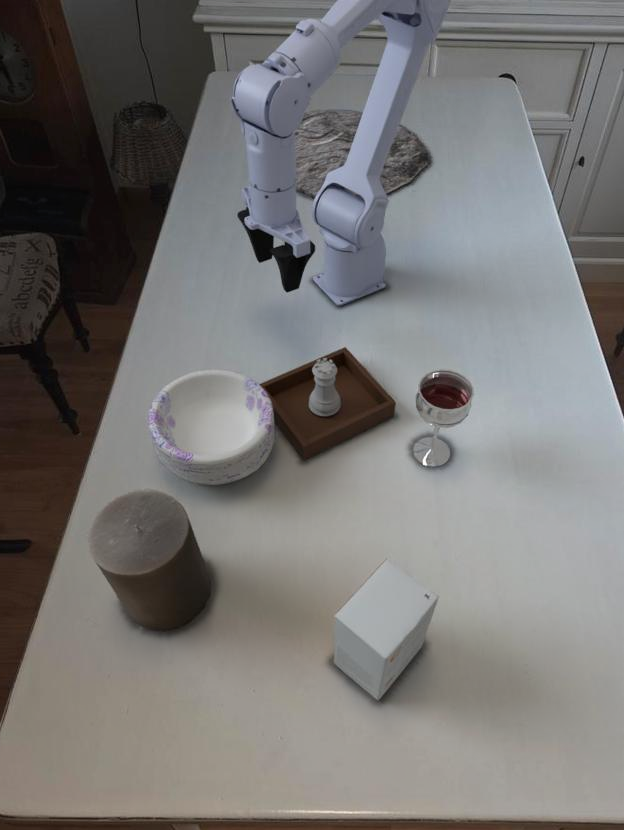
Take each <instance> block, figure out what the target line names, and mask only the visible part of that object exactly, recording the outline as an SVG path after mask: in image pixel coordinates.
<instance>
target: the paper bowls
mask: <svg viewBox="0 0 624 830" xmlns="http://www.w3.org/2000/svg"><path fill="white" fill-rule="evenodd" d="M259 384H260V383H258V382H257V381H255V380H254V379H253V378H251V377H249V376H247V375H244V374H242V373H240V372H236V371H232V370H228V369H217V368H216V369H204V370H198V371H197V370H196V371H193V372H190V373H187V374H184V375H182V376H180V377H177V378H175V379H174V380H172V381H171V382H169V383H168V384H167V385H165V386H164V387H163V388H162V389H161V391H159V392H158V393H157V395H156V396H155V397H154V399H153V401H152V403H151V404H150V407H149V411H148V418H147V425H148V432H149V435H150V439H151V441H152V444H153V447H154V449H155V453H156V454H157V456H158V458H159V460H160V462H161V463H162V464H163V466H164V467H165V468H166V469H167V470H168V471H169V472H171V473H172V474H174V475H175V476H176V477H178V478H180V479H181V480H183V481H185V482H190V483H193V484H194V483H195V484H199V485H203V486H204V485H207V486H218V485H219V486H220V485H225V484H231V483H234V482H236V481H239V480H241V479H244V478H246V477H248V476H249V475H251V474H252V473H254V472H256V471H258V469H260V467H262V465H264V463H265V462H266V461H267V459H268V458H269V456H270V453H271V452H272V450H273V447H274V443H275V442H274V441H275V432H276V431H275V429H276V428H275V422H274V413H273V406H272V402H271V400H270V398H269V396H268V394H267V393H266V391H265V390H264V389H263V388H262V387H261V386H260V385H259Z"/></svg>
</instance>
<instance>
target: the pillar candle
mask: <svg viewBox="0 0 624 830" xmlns="http://www.w3.org/2000/svg"><path fill="white" fill-rule="evenodd" d="M85 537H86V539H85V540H86V543H88V545H87V546H88V549H89V553H90V555H91V557H92V559H93V561H94V563H95V564H96V566H97V567H98V569H99V570H100V571H101V573H102V575H103V576H104V577H105V579H106V581H107V583H108V584H109V585H110V587H111V589H112V590H113V592H114V593H115V595H116V597H117V599H118V601H119V602H120V603H121V605H122V606H123V608H124V609H125V611H126V613H127V614H128V615H129V616H130V618H131V620H133V621H134V623H136V624H137V625H139V626H141V627H143V628H145V629H148V630H151V631H156V632H167V631H173V630H176V629H177V630H178V629H180V628H182V627H185V626H186V625H188V624H190V623H191V622H193V621H194V620H195V619H196V618H197V617H198V616H200V615H201V613H202V612H203V610H205V608H206V606H207V603H208V599H209V598H210V596H211V589H212V585H211V584H212V582H211V578H210V574H209V571H208V569H207V565H206V563H205V560H204V557H203V554H202V552H201V548H200V546H199V543H198V540H197V538H196V535H195V531H194V529H193V526H192V524H191V521H190V519H189V515H188V513H187V510H186V509H185V507H184V506H183V505H182V503H181V502H180V501H178V500H177V498H175V497H174V496H171V495H170V494H168V493H166V492H163V491H159V490H154V489H151V488H144V489H135V490H132V491H128V493H125V494H122V495H120V496H116V497H115V498H114V499H113V500H112V501H108V502H107V503H106V505H105V506H104V507H102V509H101V510H100V511H98V512H97V513H96V516H95V517H94V519H93V520H92V522H91V524H90V526H89V530H88V532H86V536H85Z"/></svg>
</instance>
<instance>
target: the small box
mask: <svg viewBox="0 0 624 830" xmlns="http://www.w3.org/2000/svg"><path fill="white" fill-rule="evenodd" d="M439 597H440V595H439V594H437V593H436V592H434V591H432V590H431V589H430V588H428V587H427V586H426V585H424V584H423V583H422V582H421V581H419V580H418V579H416V578H415V577H414V576H412V575H411V574H410V573H408V572H407V571H405V570H404V569H402V568H401V567H400V566H399V565H397V564H396V563H394V562H393V561H392V560H390V559H389V558H385V559H384V561H383V562H381V563H380V565H379V566H378V567H377V568H376V569H375V570H374V571H373V572H372V574H371V575H370V576H369V577H368V578H367V579H366V580H365V581H364V583H362V584H361V585H360V587H359V588H357V590H356V591H355V592H354V593H353V594H352V595H351V597H350V598H348V600H347V601H346V602H345V603H344V604H343V605H342V606H341V607H340V609H339V610H338V611H337V612H336V613H335V614H334V615H333V616H334V617H333V664H334V665H335V666H336V667H338V669H340V670H341V671H342V672H343V673H344V674H345V675H347V676H348V677H349V678H351V680H353V681H354V682H355V683H356V684H357V685H358V686H360V687H361V688H362V689H363V690H364V691H366V693H368V694H369V695H370V696H371V697H372V698H374V699H375V700H376V701H380V700H381V698H382V697H383V696H384V695H385V694H386V692H387V691H388V690H389V688H390V687H391V686H392V685H393V684H394V682H395V681H396V680H397V679H398V678H399V676H400V675H401V674H402V672H404V670H405V669H406V667H407V666H408V665H409V664H410V663H411V661H412V660H413V659H414V657H415V656H416V655H417V653H419V651H420V650H421V648H422V647H423V644H424V642H425V638H426V635H427V632H428V629H429V626H430V623H431V621H432V618H433V615H434V612H435V609H436V607H437V604H438V601H439Z"/></svg>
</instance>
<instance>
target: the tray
mask: <svg viewBox="0 0 624 830" xmlns="http://www.w3.org/2000/svg"><path fill="white" fill-rule="evenodd" d="M323 358H327V361H329V360H330V359H331V360H332V361H333V364H334V365H335V366H336V367H337V373H336V375H335V382H334V387H335V389H336V391H337V392H338V394H339V396H340V402H341V407H340V409H339V410H338V412H336V413H335V414H333V415H331V416H328V417H322V416H319V415H316V414H315V413H314V412H312V411H311V409H310V407H309V397H310V395H311V393H312V392H313V390H314V389H315V385H316V382H315V380H314V376H315V375H314V374H313V372H312V369H313V367H314V365H315V363H317V360H319V359H320V360H321V361H323ZM258 384H259V385H260V386H261V387H262V388H263V389H264V390H265V391H266V393H267V394H268V396H269V398H270V400H271V402H272V406H273V413H274V424H276V426H277V427H278V429H280V431H281V432H282V433H283V435H284V436H285V438H286V439H287V440H288V441H289V443H290V444H291V446H292V447H293V448H294V450H295V451H296V453H298V455H299V456H300V457H301V459H302V460H303V461H307V460H308V459H310V458H312V457H315V456H316V455H319V454H321V453H323V452H325V451H326V450H329V449H332V448H333V447H335V446H337V445H339V444H341V443H343V442H345V441H348V440H349V439H351V438H354V437H356V436H357V435H359V434H361V433H364V432H365V431H367V430H370V429H372V428H373V427H376V426H378V425H380V424H382V423H384V422H386V421H388V420H390V419H392V418H394V417H395V412H396V411H395V410H396V405H397V402H396V400H395V399H394V398H393V397H392V396H391V394H389V393H388V392H387V391H386V390H385V388H384V387H383V386H382V385H381V384H380V383H379V382H378V381H377V380H376V379H375V378H374V376H372V374H371V373H370V372H369V371H368V370H367V369H366V368H365V367H364V366H363V364H362V363H361V362H360V361H359V360H358V359H357V358H356V357H355V356H354V354H352V352H351V351H350V350H349V349H348V348H347V347H346V346H344V347H341V348H340V349H337V350H335V351H332V352H330V353H328V354H325V355H323V356H321V357H319V358H316V359H314V360H312V361H310V362H307V363H304V364H303V365H300V366H298V367H296V368H293V369H291V370H288V371H286V372H284V373H281V374H279V375H277V376H274V377H272V378H270V379H268V380H266V381H264V382H261V383H258Z"/></svg>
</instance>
